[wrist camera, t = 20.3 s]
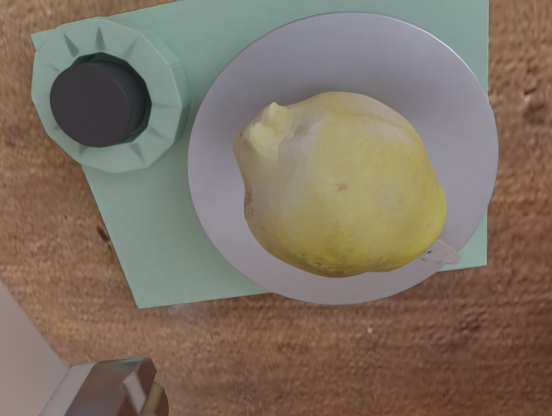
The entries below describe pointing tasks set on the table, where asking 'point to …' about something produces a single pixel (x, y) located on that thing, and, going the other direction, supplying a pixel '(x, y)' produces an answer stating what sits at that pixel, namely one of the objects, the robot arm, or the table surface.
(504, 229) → the table surface
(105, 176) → the scale
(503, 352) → the table surface
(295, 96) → the scale pan
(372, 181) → the fruit
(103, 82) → the tare button
